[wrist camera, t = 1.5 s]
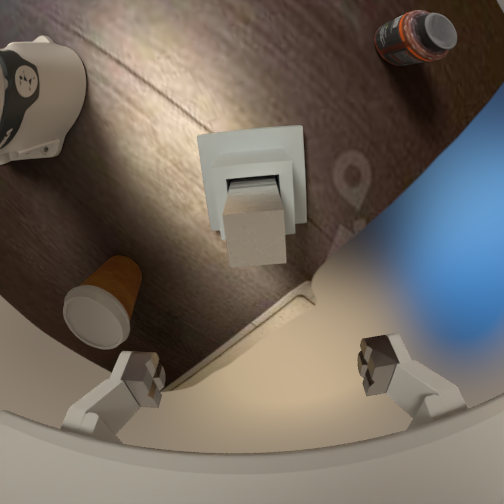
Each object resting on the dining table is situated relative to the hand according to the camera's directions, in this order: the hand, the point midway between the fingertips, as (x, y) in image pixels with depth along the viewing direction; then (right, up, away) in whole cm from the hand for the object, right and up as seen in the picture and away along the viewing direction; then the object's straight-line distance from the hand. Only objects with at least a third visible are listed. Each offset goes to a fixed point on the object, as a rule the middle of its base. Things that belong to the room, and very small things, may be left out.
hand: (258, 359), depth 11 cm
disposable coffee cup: (-20, +1, +32) cm, 37 cm away
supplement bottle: (+17, +30, +16) cm, 38 cm away
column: (0, +13, +23) cm, 27 cm away
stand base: (0, +13, +25) cm, 28 cm away
